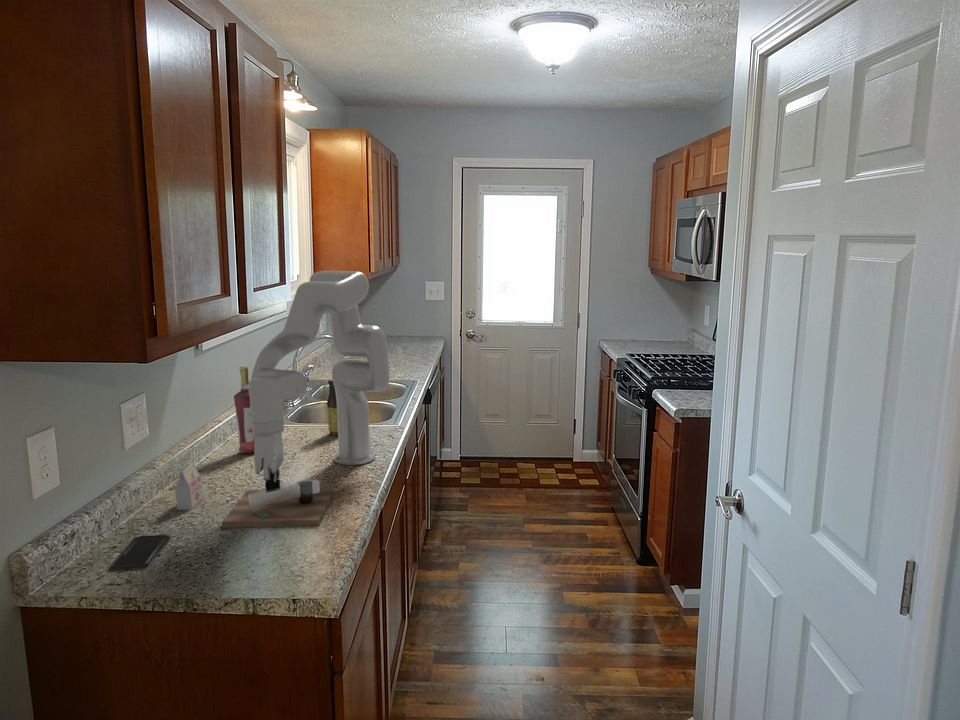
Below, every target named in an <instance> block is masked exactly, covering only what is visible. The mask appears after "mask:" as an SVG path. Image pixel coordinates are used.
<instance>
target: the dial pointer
mask: <svg viewBox="0 0 960 720" xmlns="http://www.w3.org/2000/svg"><path fill="white" fill-rule="evenodd" d="M320 488H321V487H320V481H319V480H318V479H313V480H302V481H299V482H298V483H295V484H294V483H293V484H290V485H285V486H280V488H275V489H270V490H266V491H261V492H256V493H252V494H248V496H249V506H250V507H251V508H253V507H257V506H262V505H266V504H270V503H275V502H279V501H284V500H288V499H293V498H297V497H298V498H299V502H300V503H309V502H311V501H313V494H315V493H320Z"/></svg>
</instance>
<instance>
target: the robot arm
mask: <svg viewBox="0 0 960 720" xmlns="http://www.w3.org/2000/svg"><path fill="white" fill-rule="evenodd" d="M369 290H370V282H369V279H368V277H367V276H366V274H364V273H363V272H362V271H361V272H360V271H355V270H353V271H352V270H320V271H316V272H314V273H312V274H311V276H310V278H309V281H306V282H303V283H301V284H300V285H298V286H297V288H296V292H295V294H294V297H293V301H292V304H291V306H290V309H289V313H288V315H287V319H286V321H285V325H284V328H283V329H282V330H281V331H280V332H279V333H278V334H277V335H275V336H274V337H273V338H272V339H271V340H270V341H269V342H268V343H267V344H266V345H265V346H264V347H263V349H262V350H261V351H260V352H259V354H258V356H257V357H256V360H255V363H254V367H253V370H252V373H251V377H250V379H249V396H250V407H251V418H252V431H253V434H254V435H255V444H254V470H255V471H254V472H255V474H256V475H259V474H260V473H261V472H262V471H263V474H262V475H263V477H262V478H263V481H264V482H265V483H264V484H265V489H266V490H270V489H275V488H280V487H281V480H280V467H281V466H282V465H283V463H284V457H285V456H284V455H285V454H284V445H283V443H284V442H283V434H282V433H283V432H285V425H284V423H285V422H284V410H283V403H284V402H289V401H294V400H297V399H300V398H302V397H303V396H304V395H305V393H306V391H307V390H308V389H307V388H308V386H309V385H308V384H309V382H308V378H307V377H306V375H305V374H304V373H302V372H301V371H297V370H293V369H291V370H290V369H280V368H279V369H277V368H276V367H277V365H278V364H279V362H280V361H281V360H282V359H283V358H284V357H286V356H288V355H289V354H291V353H293V352H294V351H297V350H299V349H302V348H304V347H307V346H309V345H311V344H312V343H314V342H315V341H316V338H317V334H318V332H319V327H320V324H321V322H322V319H323V316H324V314H329V316H330V322H331V330H332V339H333V340H332V341H333V346H334V350H335V352H336V353H337V354H339V356H340V355H341V356H346V357H359V358H361V357H362V358H366V359H358V358H356V359H355V358H344V359H341V360H338V361H337V362H336V363H334V365H333V367H332V368H331V369H332V370H331V379H333V383H334V387H335V392H336V400H337V419H338V436H337V437H338V439H337V440H338V453H336V454H335V455H334V456H333V459H334V462H335V463H337V464H339V465H343V466H357V465H358V466H359V465H364V464H365V465H366V464H368V463H370V462H373V461H374V460H375V458H376V453H375V452H374V451H372V450H371V444H370V442H371V441H370V438H371V437H370V417H369V416H370V415H369V410H370V409H369V402H368V399H367V397H366V395H365V393H364V392H369V393H371V392H372V393H381V392H384V391H385V390H386V389H387V387H388V386H389V383H390V365H389V364H390V363H389V351H388V342H387V341H388V340H387V336H386V334H385V332H384V330H383V329H382V327H379V326H377V325H371V324H370V325H368V324H362V321H361V317H360V310H359V309H360V308H359V305H358V304H360V303H361V302H363V301H364V299H366V297H367V295H368V294H369Z"/></svg>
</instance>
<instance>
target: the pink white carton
mask: <svg viewBox="0 0 960 720" xmlns="http://www.w3.org/2000/svg"><path fill="white" fill-rule="evenodd" d="M202 478H203V477H201V474H200V473H199V471H198V470H197V467H196V464H195V463H192V464H191V465H189V466H187V467H186V468H185V469H183V470H182V471H181V472H180V474H179V478H178V480H177V483H176V485H175V488H174V489H175V498H176V499H175V501H176V509H177V510H182V511H183V510H184V511H189V510H190V511H192V510H193V509H194V508H195V507H196V506H198V505H199V504H200V503H201V502H203V501H204V492H203V491H204V490H203V480H202Z"/></svg>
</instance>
